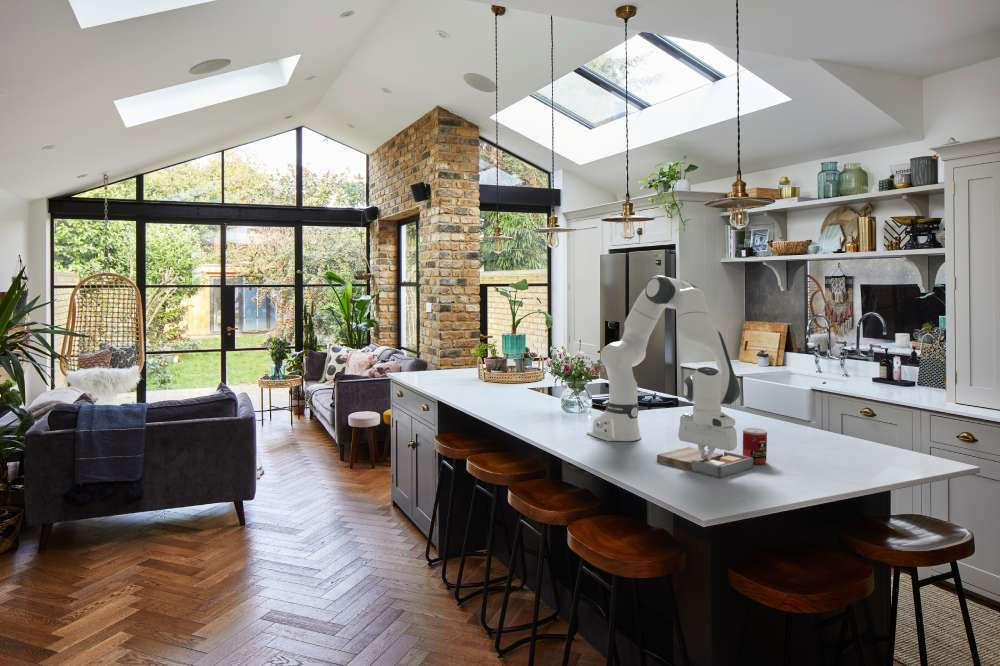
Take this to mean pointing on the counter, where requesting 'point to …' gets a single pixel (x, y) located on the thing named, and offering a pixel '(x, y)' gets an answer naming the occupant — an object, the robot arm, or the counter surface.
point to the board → (685, 457)
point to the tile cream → (715, 463)
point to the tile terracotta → (729, 459)
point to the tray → (723, 466)
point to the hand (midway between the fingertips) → (706, 458)
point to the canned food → (755, 444)
